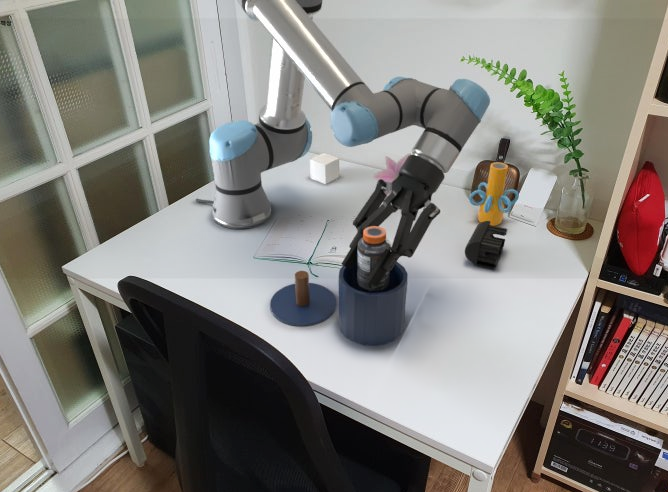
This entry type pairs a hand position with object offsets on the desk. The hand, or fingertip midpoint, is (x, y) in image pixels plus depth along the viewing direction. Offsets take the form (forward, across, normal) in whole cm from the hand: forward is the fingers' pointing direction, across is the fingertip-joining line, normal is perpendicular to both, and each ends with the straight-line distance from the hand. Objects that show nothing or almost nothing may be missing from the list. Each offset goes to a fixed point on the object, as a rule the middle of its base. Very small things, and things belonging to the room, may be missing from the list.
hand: (358, 274), depth 101 cm
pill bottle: (0, 0, -5) cm, 5 cm away
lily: (-24, +36, -44) cm, 62 cm away
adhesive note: (-17, +56, -38) cm, 70 cm away
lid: (+12, +14, -8) cm, 19 cm away
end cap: (-18, 0, -38) cm, 42 cm away
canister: (+7, 0, -12) cm, 15 cm away
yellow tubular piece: (-28, +9, -49) cm, 57 cm away
